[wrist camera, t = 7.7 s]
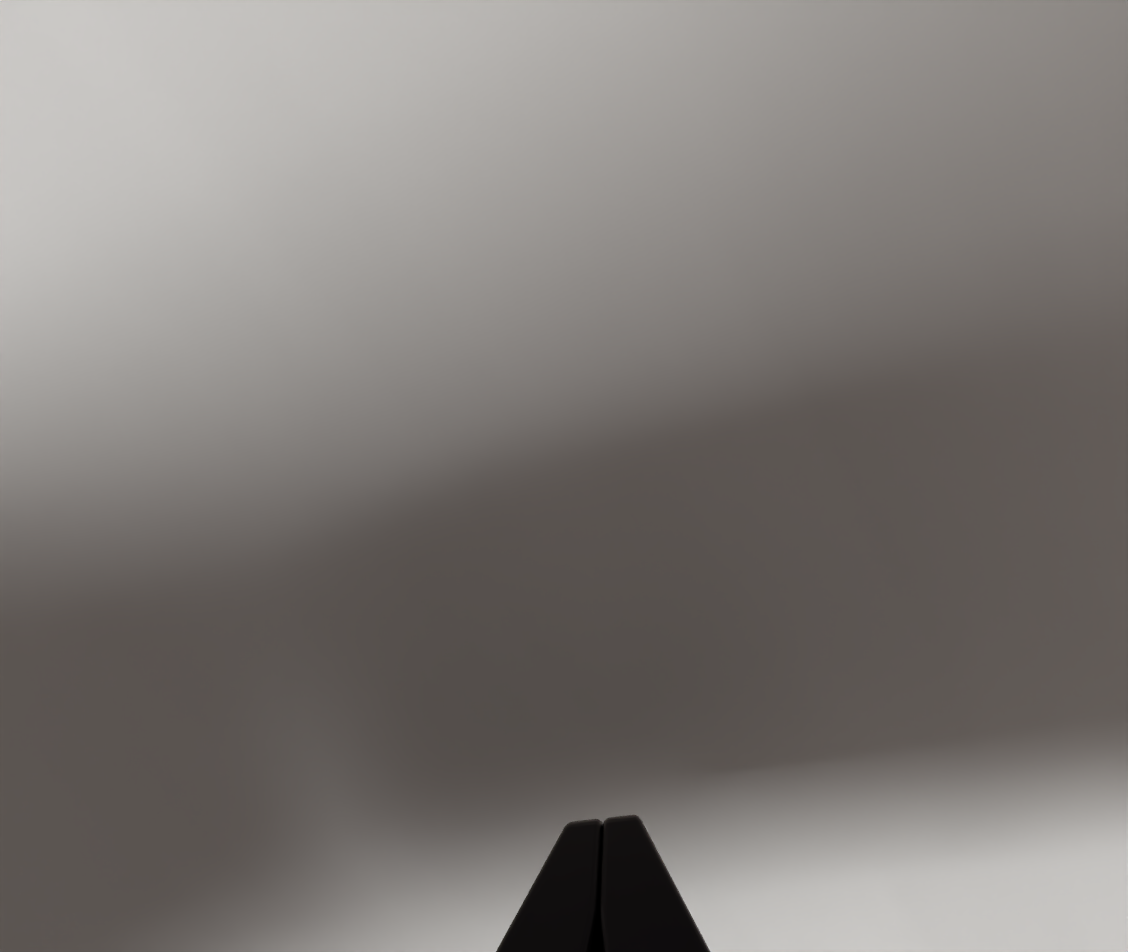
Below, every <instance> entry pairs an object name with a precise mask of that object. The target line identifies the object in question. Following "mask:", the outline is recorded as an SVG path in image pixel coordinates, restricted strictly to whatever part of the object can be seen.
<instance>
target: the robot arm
mask: <svg viewBox="0 0 1128 952" xmlns="http://www.w3.org/2000/svg"><path fill="white" fill-rule="evenodd" d="M496 952H710V950H709V948H708V947H707V945H706V943H705V941H704V939H703V937H702V935H701V933H700V931H699V929H698V927H697V926H696V924H695V922H694V920H693V918H692V916H691V914H690V912H689V910H688V908H687V906H686V905H685V903H684V901H683V899H682V897H681V895H680V893H679V891H678V889H677V887H676V885H675V884H674V882H673V880H672V878H671V876H670V874H669V872H668V870H667V868H666V866H665V864H664V863H663V861H662V859H661V857H660V855H659V853H658V851H657V849H656V847H655V845H654V843H653V842H652V840H651V838H650V836H649V834H648V832H647V830H646V828H645V826H644V824H643V822H642V821H641V819H640V818H639V817H638V816H636V815H628V816H619V817H610V818H607V819H606V820H605V821H604V824H603V823H602V821H600V820H598V819H592V820H583V821H575V822H570V823H568V824H567V825H566V826H565V827H564V829H563V831H562V833H561V834H560V836H559V838H558V840H557V842H556V844H555V845H554V847H553V849H552V851H551V853H550V854H549V856H548V858H547V860H546V862H545V864H544V865H543V867H542V869H541V871H540V873H539V875H538V876H537V878H536V880H535V882H534V884H533V885H532V887H531V889H530V891H529V893H528V895H527V896H526V898H525V900H524V902H523V904H522V905H521V907H520V909H519V911H518V913H517V915H516V916H515V918H514V920H513V922H512V924H511V925H510V927H509V929H508V931H507V933H506V935H505V936H504V938H503V940H502V942H501V944H500V945H499V947H498V949H497V951H496Z"/></svg>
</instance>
